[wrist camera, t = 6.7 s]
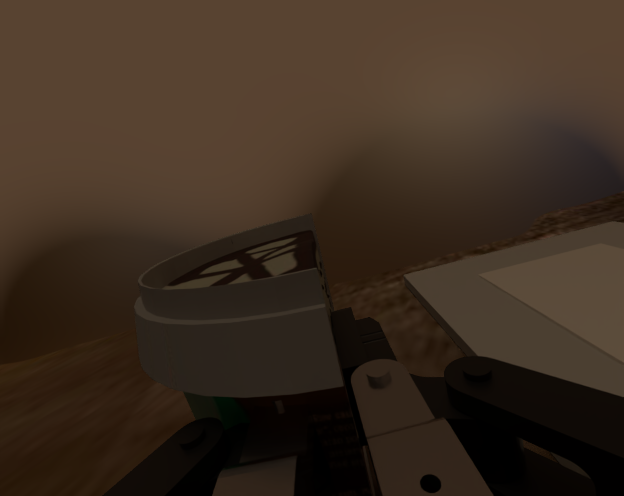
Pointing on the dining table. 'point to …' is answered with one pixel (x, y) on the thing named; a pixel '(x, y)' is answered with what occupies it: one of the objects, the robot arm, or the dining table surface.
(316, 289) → the food container
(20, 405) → the dining table surface
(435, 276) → the dock
